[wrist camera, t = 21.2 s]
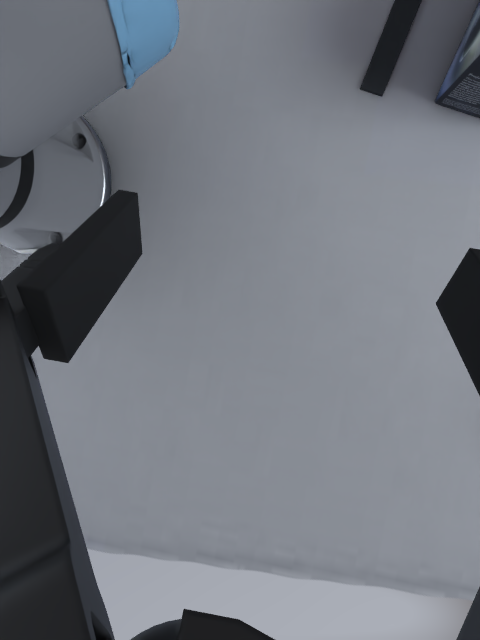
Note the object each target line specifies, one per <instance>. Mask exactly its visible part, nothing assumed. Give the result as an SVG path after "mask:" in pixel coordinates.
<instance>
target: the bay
mask: <svg viewBox="0 0 480 640" xmlns="http://www.w3.org/2000/svg"><path fill="white" fill-rule="evenodd" d="M421 1H422V0H395V2H394V4H393V7H392V9H391V12H390V14H389V17H388V19H387V22H386V24H385V27H384V30H383V32H382V35H381V37H380V40H379V42H378V45H377V47H376V50H375V52H374V55H373V57H372V60H371V62H370V65H369V67H368V70H367V73H366V75H365V78H364V80H363V83H362V85H361V88H360V89H361V90H364V91H367V92H370V93H373V94H376V95H379V96H382V95H383V93H384V91H385V88H386V86H387V83H388V81H389V78H390V76H391V74H392V71H393V69H394V66H395V64H396V61H397V59H398V57H399V54H400V52H401V49H402V47H403V44H404V42H405V39H406V37H407V35H408V32H409V30H410V27H411V25H412V22H413V20H414V18H415V15H416V13H417V10H418V8H419V5H420V3H421Z"/></svg>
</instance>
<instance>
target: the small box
mask: <svg viewBox="0 0 480 640" xmlns="http://www.w3.org/2000/svg"><path fill="white" fill-rule="evenodd" d="M435 103H437V104H439V105H442V106H445V107H448V108H451V109H454V110H457V111H460V112H463V113H466V114H469V115H472V116H476V117H479V118H480V0H479V3H478V5H477V7H476V9H475V12H474V14H473V16H472V18H471V21H470V23H469V25H468V27H467V30H466V32H465V34H464V36H463V38H462V41H461V43H460V45H459V47H458V50H457V52H456V54H455V56H454V59H453V61H452V63H451V66H450V68H449V70H448V72H447V75H446V77H445V79H444V81H443V84H442V86H441V88H440V90H439V93H438V95H437V97H436V100H435Z"/></svg>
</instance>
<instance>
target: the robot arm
mask: <svg viewBox="0 0 480 640" xmlns="http://www.w3.org/2000/svg"><path fill="white" fill-rule="evenodd" d="M178 32H179V12H178V5H177V1H176V0H0V244H1V245H3V246H6V247H8V248H10V249H13V250H14V251H16V252H19V253H22V254H23V253H28V254H32V255H31V256H29V257H28V260H25V261H24V262H23V263H21V264H20V267H17V268H16V269H15V270H13V271H12V272H11V273H10V274H9V275H8V276H7V277H5V278H4V279H3V280H2V281H1V280H0V640H115V639H114V635H113V632H112V628H111V625H110V621H109V618H108V615H107V611H106V608H105V605H104V602H103V599H102V597H101V594H100V591H99V589H98V586H97V583H96V579H95V576H94V573H93V569H92V566H91V562H90V559H89V555H88V551H87V548H86V544H85V541H84V537H83V534H82V530H81V527H80V523H79V520H78V516H77V513H76V509H75V506H74V502H73V498H72V495H71V491H70V488H69V484H68V481H67V477H66V474H65V470H64V467H63V463H62V460H61V456H60V453H59V449H58V446H57V442H56V439H55V435H54V431H53V428H52V424H51V421H50V417H49V414H48V410H47V407H46V403H45V400H44V396H43V393H42V389H41V386H40V382H39V379H38V375H37V372H36V368H35V364H34V361H33V359H32V356H31V354H32V353H33V352H34V351H35V349H36V348H37V347H38V346H39V347H40V350H41V353H42V355H43V358H44V359H49V360H54V361H60V362H65V363H69V361H70V360H71V358H72V357H73V355H74V354H75V352H76V351H77V349H78V348H79V346H80V345H81V343H82V342H83V340H84V339H85V338H86V336H87V335H88V333H89V332H90V330H91V329H92V327H93V326H94V324H95V323H96V321H97V320H98V318H99V317H100V315H101V314H102V312H103V311H104V309H105V308H106V307H107V305H108V304H109V302H110V301H111V299H112V298H113V296H114V295H115V293H116V292H117V290H118V289H119V287H120V286H121V284H122V283H123V281H124V280H125V278H126V277H127V276H128V274H129V273H130V271H131V270H132V268H133V267H134V265H135V264H136V262H137V261H138V259H139V258H140V256H141V255H142V243H141V231H140V218H139V206H138V193H135V192H129V191H123V190H118V191H117V192H116V193H115V194H114V195H112V196H111V197H110V194H111V173H110V166H109V162H108V158H107V155H106V152H105V149H104V147H103V144H102V142H101V141H100V139H99V137H98V135H97V134H96V132H95V131H94V129H93V128H92V127H91V125H90V124H89V123H88V122H87V121H86V120H85V119H84V118H83V117H82V115H83V114H85V113H86V112H88V111H89V110H91V109H92V108H94V107H95V106H96V105H98V104H99V103H101V102H102V101H104V100H105V99H107V98H108V97H109V96H111V95H112V94H114V93H115V92H117V91H118V90H120V89H121V88H123V87H125V88H126V89H130V88H131V87H132V86H133V85H134V83H135V79H136V78H138V77H139V76H140V75H141V74H143V73H144V72H145V71H147V70H148V69H149V68H151V67H152V66H153V65H155V64H156V63H157V62H158V61H160V60H161V59H162V58H164V57H165V56H166V55H167V54H168V53H169V52H170V51H171V49H172V48H173V47H174V45H175V42H176V39H177V35H178ZM436 305H437V307H438V309H439V312H440V314H441V316H442V318H443V320H444V322H445V324H446V326H447V328H448V330H449V333H450V335H451V337H452V339H453V341H454V343H455V345H456V347H457V349H458V351H459V354H460V356H461V358H462V360H463V362H464V364H465V366H466V368H467V370H468V372H469V374H470V377H471V379H472V381H473V383H474V385H475V387H476V389H477V391H478V393H479V395H480V250H479V249H473V248H470V249H469V250H468V252H467V253H466V255H465V257H464V258H463V260H462V262H461V263H460V265H459V266H458V268H457V270H456V271H455V273H454V275H453V276H452V278H451V279H450V281H449V283H448V284H447V286H446V288H445V289H444V291H443V292H442V294H441V296H440V297H439V299H438V301H437V302H436ZM131 640H274V639H273V638H271V637H269V636H267V635H265V634H264V633H262V632H260V631H259V630H257V629H255V628H253V627H251V626H250V625H248V624H246V623H244V622H242V621H240V620H238V619H233V618H228V617H223V616H218V615H213V614H208V613H202V612H197V611H192V610H187V609H184V610H183V615H182V619H179V620H174V621H168V622H165V623H162V624H159V625H156V626H153V627H151V628H150V629H147V630H145V631H143V632H141V633H140V634H138V635H137V636H135V637H134V638H132V639H131ZM457 640H480V587H479V590H478V592H477V594H476V596H475V599H474V601H473V603H472V606H471V608H470V610H469V613H468V615H467V617H466V619H465V621H464V624H463V626H462V628H461V631H460V633H459V635H458V637H457Z"/></svg>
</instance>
